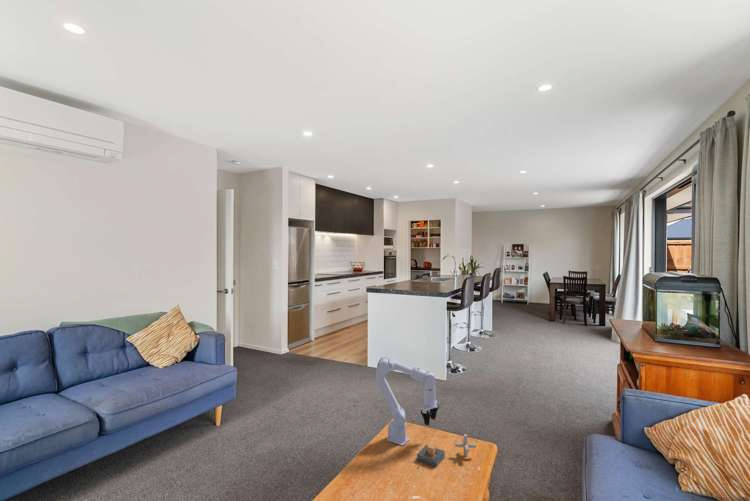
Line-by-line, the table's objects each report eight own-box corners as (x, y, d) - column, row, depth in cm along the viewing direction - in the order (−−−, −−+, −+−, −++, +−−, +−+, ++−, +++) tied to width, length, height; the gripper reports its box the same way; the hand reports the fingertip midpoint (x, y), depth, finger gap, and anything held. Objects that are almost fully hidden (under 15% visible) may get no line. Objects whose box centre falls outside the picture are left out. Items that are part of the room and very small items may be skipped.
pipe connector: (474, 450, 178) (474, 430, 179) (477, 462, 169) (477, 441, 169) (453, 449, 179) (453, 429, 180) (456, 460, 170) (456, 439, 170)
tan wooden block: (427, 459, 171) (427, 447, 171) (430, 456, 173) (430, 444, 173) (433, 461, 169) (433, 448, 169) (435, 458, 172) (435, 446, 172)
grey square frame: (417, 460, 170) (417, 454, 170) (426, 450, 178) (426, 444, 178) (436, 467, 164) (436, 460, 164) (444, 457, 173) (444, 450, 173)
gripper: (431, 402, 179) (431, 429, 179) (442, 393, 191) (442, 418, 191) (418, 399, 183) (418, 425, 183) (430, 390, 195) (430, 415, 195)
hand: (430, 421), depth 187 cm, fingers open, 7 cm apart
